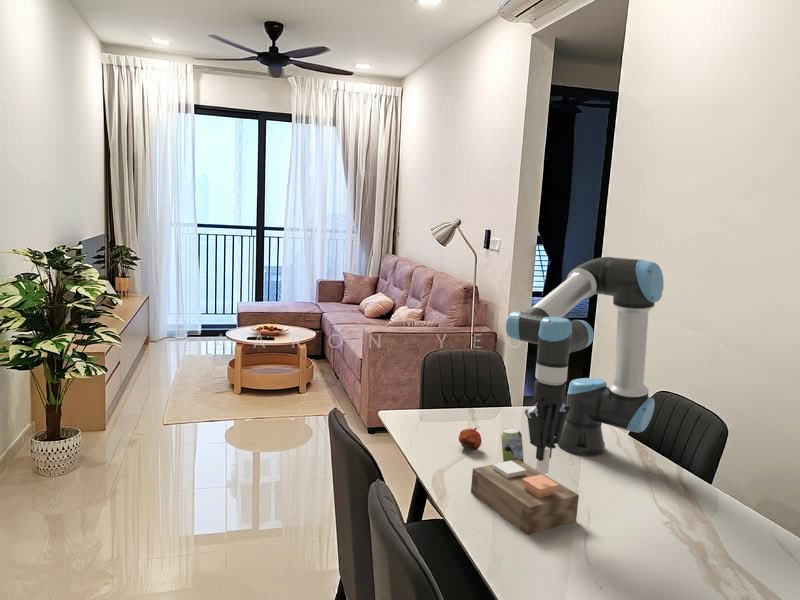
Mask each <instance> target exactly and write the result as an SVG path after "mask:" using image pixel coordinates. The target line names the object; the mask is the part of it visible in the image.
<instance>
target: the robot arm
mask: <svg viewBox="0 0 800 600" xmlns="http://www.w3.org/2000/svg"><path fill="white" fill-rule="evenodd" d="M663 275H664V274H663V271H662V268H661V267H660V265H659V264H658V263H656V262H655V261H648V260H644V259H638V258H637V259H635V258H623V257H613V256H603V257H602V256H601V257H598V258H593V259H591V260H589V261H586V262H584V263H582V264H580V265H578V266H576V267H575V268H573V269H572V270H571V271H570V272H568V274H567V277H566V279H565V280H564V281H563V282H561V283H560V284H559V285H558V286H557V287H555V288H554V289H553V290H551V291H550V292H549V293H548V294H547V295H545V296H544V297H543V298H541V299H540V300H539V301H538V302H537V303H535V304H534V305H533V306H532V307H531V308H529V309H528V310H527V311H525V312H523V311H512V312H511V313H510V314H509V315H508V317H507V319H506V322H505V333H506V335H507V336H508V337H509V338H510V339H514V340H517V341H520V342H526V343H531V344H536V345H537V352H536V353H537V355H536V363H535V364H536V365H535V378H536V379H535V380H534V386H533V395H534V397H535V399H534V401H533V403H532V404H533V405H532V407H531V408H530V409H528V408H526V409H525V410H524V414H525V416H526V418H527V423H528V426H527V427H528V434H529V443H530V444H531V446H534V447H535V448H536V451H535V459H536V466H535V467H536V470H537V471H539V472H541V473H543V474H544V475H546V474H549V468H550V459H551V458H552V451H553V450H554V449H555V448H556V447H557V446H558V447H559V448H560V449H562V450H563V451H565V452H567V453H570V454H571V453H572V454H575V455H579V456H587V457H588V456H589V457H594V456H595V457H596V456H600V455H602V454H604V453H605V448H606V443H605V441H604V436H603V430H602V427H603V426H602V425H603V424H604V425H608V426H611V427H613V428H614V427H615V428H618V429H622V430H625V431H627V432H629V431H630V432H633V433H638V434H639V433H642V432H644V431H645V430H646V428H647V427H648V426H649V424H650V422H651V420H652V417H653V414H654V410H655V405H656V404H655V403H656V402H655V399H654V398H653V397H651V396H649V388H648V387H647V386H646V385H645V383H644V381H645V370H646V367H645V366H646V355H647V354H646V353H647V340H648V337H647V336H648V327H649V326H648V324H649V311H650V310H652V309H653V308H654V307H655V304H656V303H657V302H660V300H661V298H662V296H663V291H664V282H665V281H664V276H663ZM594 295H604V296H610V297H612V301H613V302H612V304H613V306H614V307H616V308H617V321H616V322H617V325H616V339H615V342H616V343H615V361H614V378H613V379H614V381H613V382H611V383H609V385H608V384H607V381H606V380H604V379H601V378H594V377H593V378H592V377H583V378H582V377H581V378H576V379H575V378H574V379H572V380H571V381H570V382H569V385H568V390H567V383H566V382H567V381H568V370H569V359H570V354H571V353H575V352H578V351H582V350H584V349H586V348H587V347H589V346H591V344H592V342H593V340H594V337H595V332H594V329H593V327H592V326H591V325H590V324H589V323H588V322H587V321H586V320H581V319H573V320H570V319H568V318H567V317H566V318H565V317H564V316H566V315H567V314H568V313H569V312H570V311H571V310H572V309H574V308H575V307H576V306H577V305H579V303H581V302H582V301H583V300H584V299H588V298H591V297H593V296H594ZM607 385H608V386H607ZM566 390H567V392H566ZM566 393H567V396H566ZM565 397H566V404H565V403H564V400H563V399H565ZM556 444H557V446H556Z"/></svg>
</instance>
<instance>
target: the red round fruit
mask: <svg viewBox="0 0 800 600" xmlns="http://www.w3.org/2000/svg"><path fill="white" fill-rule="evenodd" d="M458 441H459V443H460V444H461V446H462V447H463V448H464V449H463V451H462V454H464V453H465V451H466V449H467V450H471V451H477V450H478V449H479V448H480V447H481V446H482V437H481V434H480V432H479V431H477V427H475V428H466V429H465V428H464V429H462V430H461V431H460V432H459V435H458Z"/></svg>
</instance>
